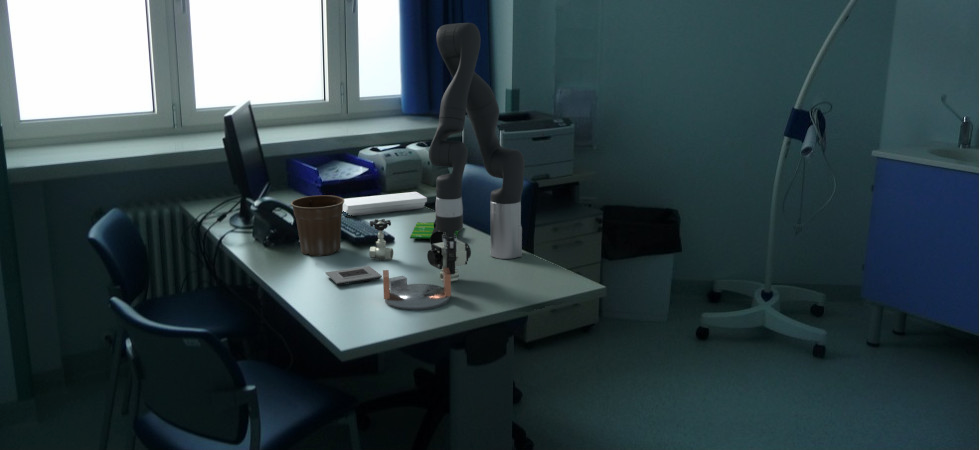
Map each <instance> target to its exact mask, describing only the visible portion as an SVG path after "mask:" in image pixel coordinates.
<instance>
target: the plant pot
mask: <svg viewBox="0 0 980 450" xmlns="http://www.w3.org/2000/svg"><path fill="white" fill-rule="evenodd" d="M344 199H345V198H343V197H341V196H337V195H326V194H324V195H321V194H320V195H309V196H302V197H299V198H296V199H293V200H292V201H291V202H290V206H291V207H292V209H293V216H294V217H295V221H296V226H297V231H298V232H297V233H298V237H299V244H300V250H301V253H302V254H303V255H310V256H314V257H317V256H318V257H325V256H328V255H330V256H331V255H334V253H338V252H340V250H341V239H342V238H341V236H342V215H343V214H342V212H343V203H344Z"/></svg>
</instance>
